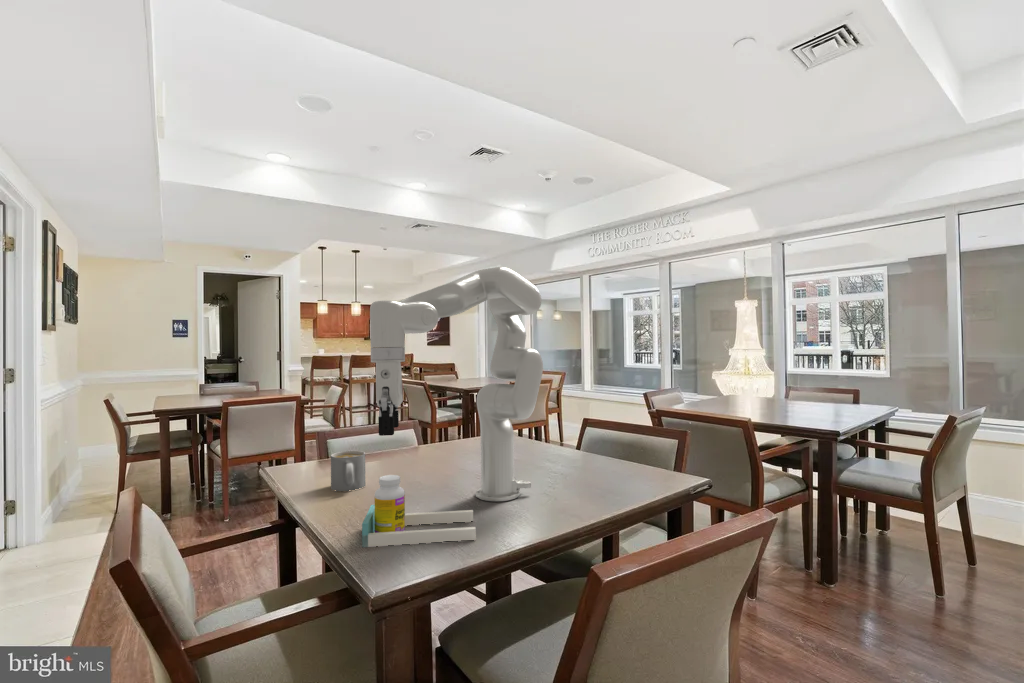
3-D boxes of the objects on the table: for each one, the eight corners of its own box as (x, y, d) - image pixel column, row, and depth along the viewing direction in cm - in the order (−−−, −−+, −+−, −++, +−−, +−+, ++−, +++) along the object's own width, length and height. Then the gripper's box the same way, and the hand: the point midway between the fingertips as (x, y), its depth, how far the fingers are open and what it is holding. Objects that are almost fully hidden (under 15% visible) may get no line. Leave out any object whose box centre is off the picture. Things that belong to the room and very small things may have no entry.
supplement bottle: (397, 541, 105) (396, 482, 105) (369, 539, 106) (368, 480, 107) (409, 530, 112) (409, 474, 112) (383, 528, 113) (382, 473, 113)
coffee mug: (334, 483, 151) (334, 451, 151) (367, 481, 153) (367, 449, 153) (325, 496, 138) (325, 461, 138) (361, 494, 140) (361, 459, 140)
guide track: (472, 520, 118) (472, 499, 118) (475, 540, 105) (475, 517, 105) (371, 526, 114) (371, 504, 114) (362, 547, 102) (362, 523, 102)
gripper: (401, 356, 101) (402, 437, 101) (407, 354, 118) (409, 424, 118) (364, 356, 100) (365, 439, 100) (376, 355, 117) (377, 425, 117)
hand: (389, 431), depth 109 cm, fingers open, 9 cm apart
